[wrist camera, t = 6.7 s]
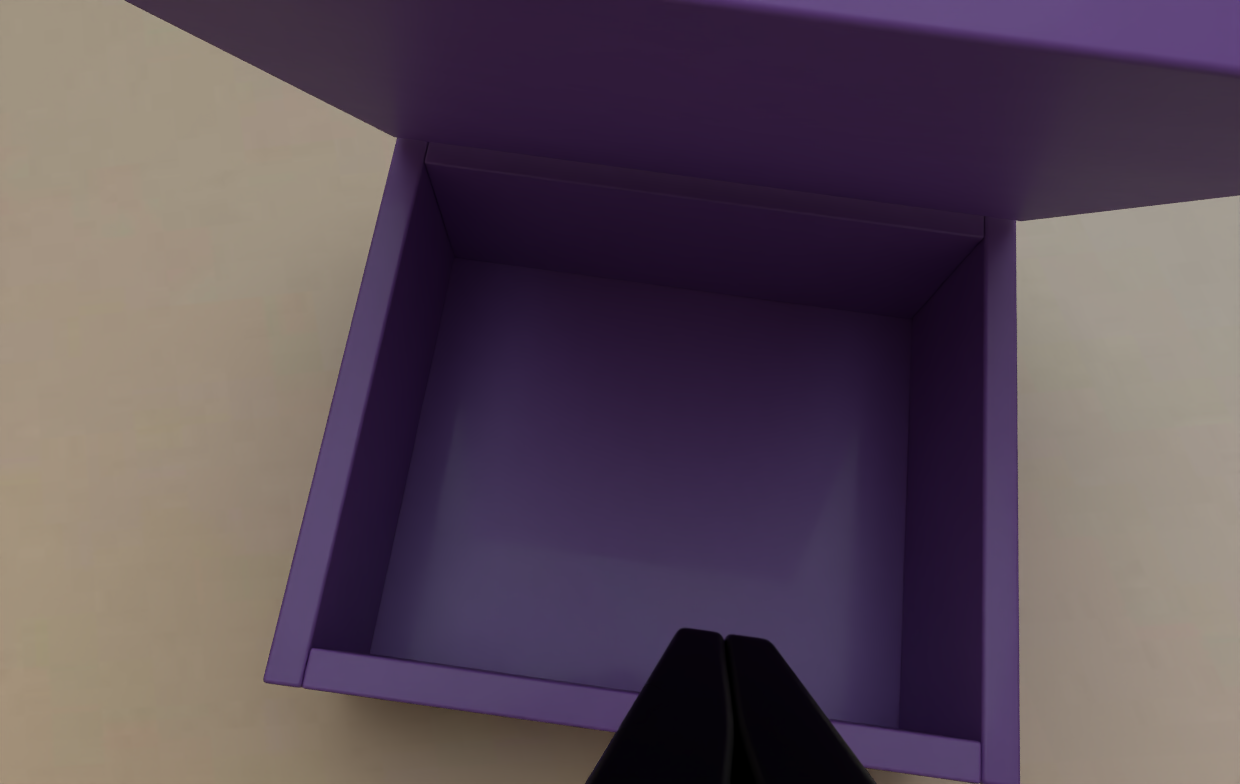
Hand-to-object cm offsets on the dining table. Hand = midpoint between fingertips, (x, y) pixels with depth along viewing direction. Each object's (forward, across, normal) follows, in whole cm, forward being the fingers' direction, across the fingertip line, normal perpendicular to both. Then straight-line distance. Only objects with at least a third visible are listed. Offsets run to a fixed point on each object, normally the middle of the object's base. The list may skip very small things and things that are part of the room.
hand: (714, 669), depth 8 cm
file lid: (+7, 0, -4) cm, 8 cm away
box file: (+13, 0, +6) cm, 14 cm away
